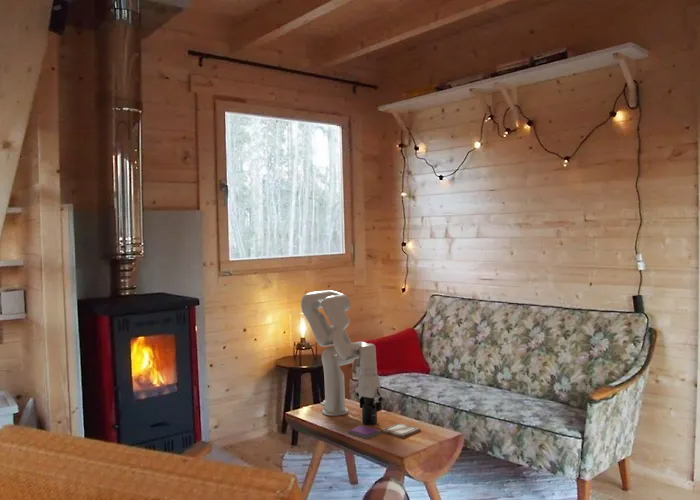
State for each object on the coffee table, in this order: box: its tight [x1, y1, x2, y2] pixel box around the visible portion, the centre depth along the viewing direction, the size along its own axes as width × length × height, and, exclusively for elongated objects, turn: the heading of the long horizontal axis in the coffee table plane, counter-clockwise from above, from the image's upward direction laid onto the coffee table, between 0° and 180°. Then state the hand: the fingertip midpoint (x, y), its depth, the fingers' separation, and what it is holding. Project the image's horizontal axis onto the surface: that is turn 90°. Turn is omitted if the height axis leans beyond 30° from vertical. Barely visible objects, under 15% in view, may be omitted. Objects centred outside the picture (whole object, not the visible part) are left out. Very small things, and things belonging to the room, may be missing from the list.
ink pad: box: [347, 424, 382, 440], centre depth 269 cm, size 11×9×2 cm
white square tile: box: [380, 422, 421, 439], centre depth 270 cm, size 12×12×1 cm
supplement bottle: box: [361, 397, 378, 426], centre depth 282 cm, size 7×7×12 cm
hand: (370, 409), depth 282 cm, fingers open, 9 cm apart
